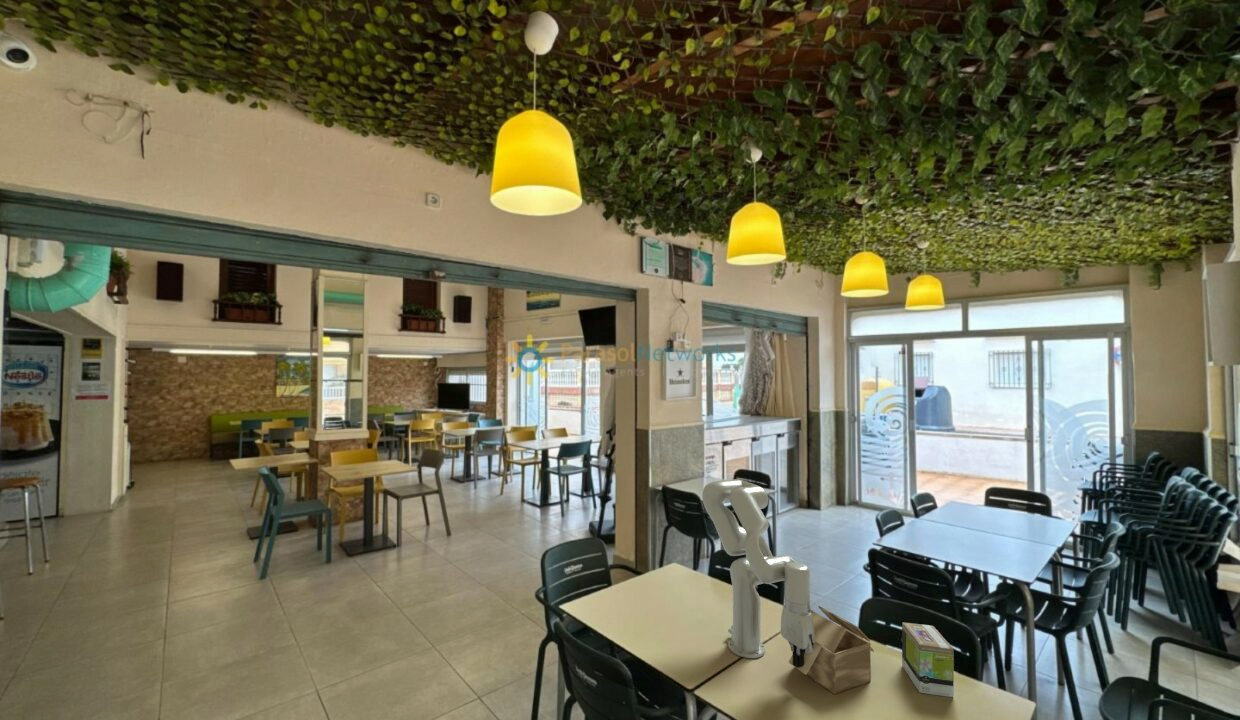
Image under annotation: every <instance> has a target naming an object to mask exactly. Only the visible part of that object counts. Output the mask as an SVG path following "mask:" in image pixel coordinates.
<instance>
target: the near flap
mask: <svg viewBox="0 0 1240 720" xmlns="http://www.w3.org/2000/svg"><path fill="white" fill-rule="evenodd" d="M810 613H811V614H812V619H813V626H814V641H816V642H817V643H819V644H820V645H822V646H824V647H825V648H827V649H828V650H830V651H831V652H833V653H834V652H835V650H836V648H837V646H838V644H839V643H840V641H841V639H842V637H843V636H844V634H845V632H846V629H844V628H842V627H840V625H839V624H837V623H835V622H834V623H833V621H832V622H831V620H830V619H829V618H826V617H824V616H822V615H821V614H819V613H818V612H815V611H813V610H812V609H810ZM821 648H822V647H820V646H819V645H817V644H816V643H814V646H813V647H812V650H813V653H811V654H808V653H805V654H804V665H803V666H801V667H798V668H797V667H795V666H794V665H793V654H792V655H791V657H790V659H789V660H788V663H789V664H790V665H791V666H793V667H794V668H796V669H797V670H799V672H801V673H802V674H804V675H806V674H807V673H808V671H809V669H810V667H811V666H812V664H813V662H814V660H815V659H816V657H817V655H818V653H819V652H820V650H821ZM806 676H807V675H806Z"/></svg>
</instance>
